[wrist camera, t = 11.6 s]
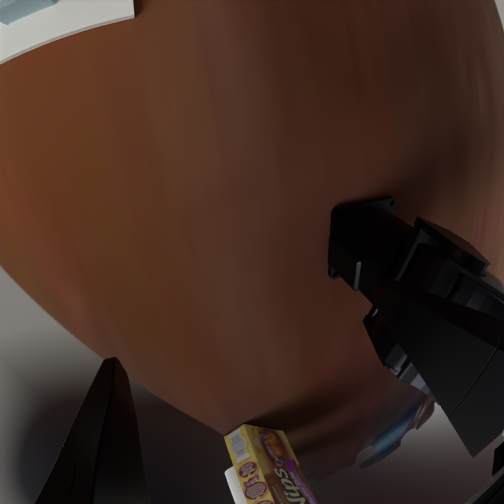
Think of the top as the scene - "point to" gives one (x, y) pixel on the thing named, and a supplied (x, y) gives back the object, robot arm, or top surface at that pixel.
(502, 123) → the top surface
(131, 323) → the top surface
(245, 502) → the cylindrical container
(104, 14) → the cup bracket
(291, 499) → the candy box
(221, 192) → the top surface
